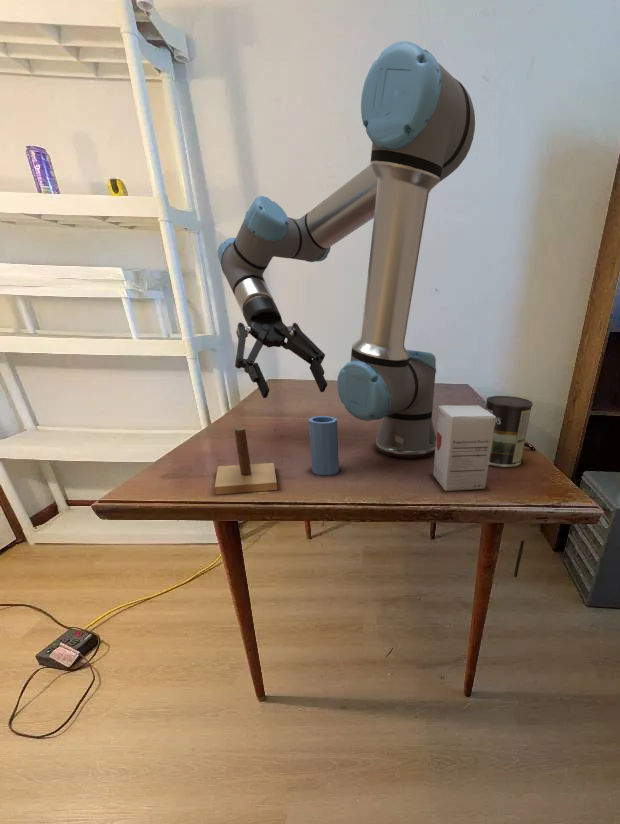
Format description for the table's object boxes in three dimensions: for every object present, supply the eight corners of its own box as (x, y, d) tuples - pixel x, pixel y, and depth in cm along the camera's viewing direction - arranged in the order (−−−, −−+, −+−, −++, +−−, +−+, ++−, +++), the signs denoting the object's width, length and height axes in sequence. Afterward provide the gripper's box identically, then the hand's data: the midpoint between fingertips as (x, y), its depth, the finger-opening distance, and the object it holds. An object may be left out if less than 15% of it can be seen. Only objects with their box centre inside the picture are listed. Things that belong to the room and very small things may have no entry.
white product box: (431, 475, 93) (437, 404, 85) (470, 473, 94) (479, 404, 87) (444, 491, 85) (451, 415, 77) (486, 489, 87) (497, 415, 79)
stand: (274, 469, 91) (268, 420, 86) (277, 489, 82) (271, 435, 77) (219, 473, 88) (209, 422, 83) (216, 494, 79) (205, 438, 74)
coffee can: (493, 469, 97) (502, 406, 90) (470, 455, 106) (478, 396, 99) (530, 465, 101) (542, 404, 94) (506, 451, 109) (515, 394, 102)
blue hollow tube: (336, 465, 95) (334, 415, 90) (340, 474, 91) (339, 422, 85) (310, 467, 94) (307, 416, 88) (314, 476, 89) (310, 423, 83)
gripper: (304, 321, 104) (339, 396, 102) (198, 320, 90) (236, 407, 88) (314, 297, 98) (351, 376, 96) (201, 292, 84) (242, 385, 81)
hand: (296, 391), depth 92 cm, fingers open, 13 cm apart
